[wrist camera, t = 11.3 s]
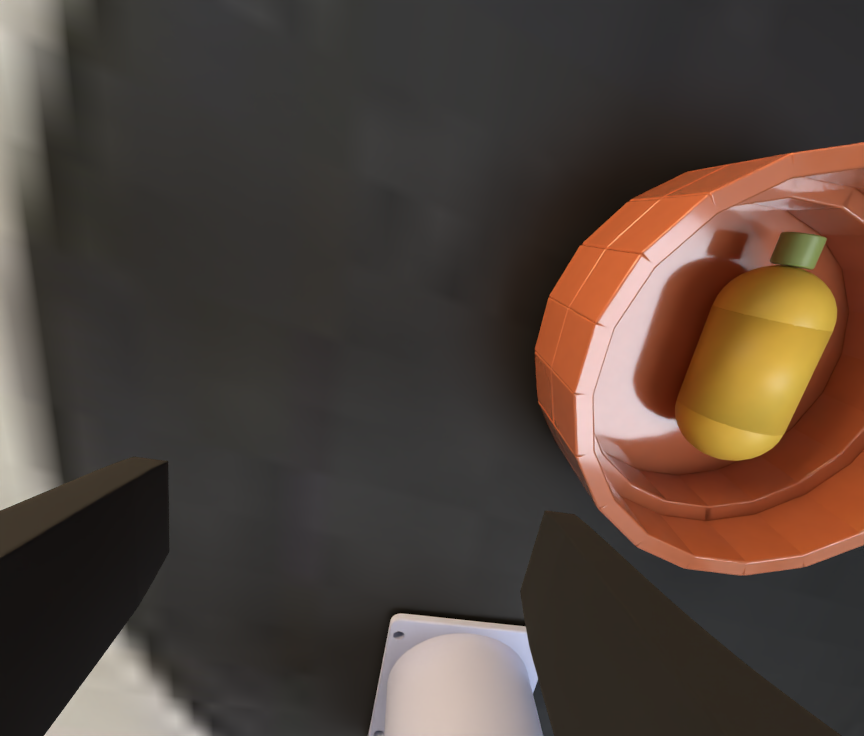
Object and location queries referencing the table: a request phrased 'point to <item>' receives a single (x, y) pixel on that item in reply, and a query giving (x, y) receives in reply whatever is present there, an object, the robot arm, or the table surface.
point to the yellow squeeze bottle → (757, 353)
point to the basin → (672, 353)
